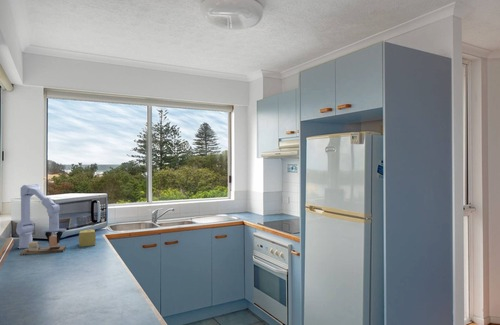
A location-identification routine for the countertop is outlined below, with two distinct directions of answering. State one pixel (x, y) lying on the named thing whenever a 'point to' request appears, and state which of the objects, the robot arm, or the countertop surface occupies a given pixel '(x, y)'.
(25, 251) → the puzzle board
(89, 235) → the cheese
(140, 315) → the countertop surface
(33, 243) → the maple block
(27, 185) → the robot arm
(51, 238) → the terracotta block
